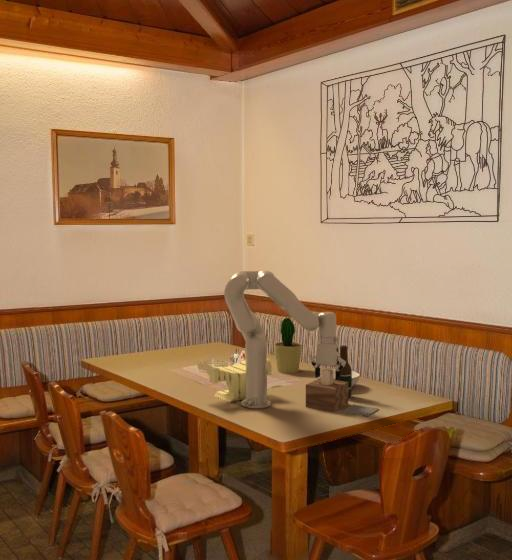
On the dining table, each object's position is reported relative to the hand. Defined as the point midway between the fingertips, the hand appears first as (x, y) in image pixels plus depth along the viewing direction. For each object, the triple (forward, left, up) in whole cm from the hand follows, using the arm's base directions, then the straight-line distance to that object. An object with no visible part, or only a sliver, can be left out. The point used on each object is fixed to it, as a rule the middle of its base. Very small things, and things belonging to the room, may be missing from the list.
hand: (327, 378), depth 291 cm
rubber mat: (0, -16, -12) cm, 20 cm away
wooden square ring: (0, 0, -12) cm, 12 cm away
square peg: (0, 0, -8) cm, 8 cm away
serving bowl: (+32, +10, -13) cm, 36 cm away
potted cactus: (+49, +48, -13) cm, 70 cm away
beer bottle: (+17, 0, -13) cm, 21 cm away
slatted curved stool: (-11, +42, -13) cm, 45 cm away
